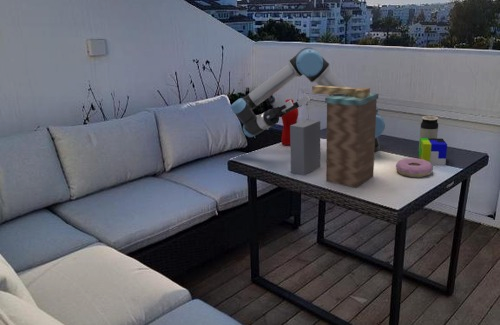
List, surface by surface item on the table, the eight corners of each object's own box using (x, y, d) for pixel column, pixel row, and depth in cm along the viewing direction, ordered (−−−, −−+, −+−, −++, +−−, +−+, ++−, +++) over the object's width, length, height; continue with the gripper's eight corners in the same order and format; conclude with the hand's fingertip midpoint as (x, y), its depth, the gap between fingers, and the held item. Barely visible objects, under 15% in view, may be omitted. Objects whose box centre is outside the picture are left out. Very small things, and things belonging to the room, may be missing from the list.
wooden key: (309, 94, 187) (309, 86, 186) (318, 91, 192) (318, 84, 191) (361, 98, 172) (362, 90, 171) (369, 95, 177) (370, 87, 176)
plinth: (291, 172, 201) (290, 125, 194) (307, 164, 211) (307, 119, 204) (303, 175, 197) (303, 127, 190) (320, 166, 207) (320, 120, 200)
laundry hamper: (324, 181, 188) (325, 95, 177) (343, 170, 201) (345, 88, 189) (356, 188, 179) (359, 98, 167) (374, 176, 191) (378, 91, 180)
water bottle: (299, 141, 250) (299, 97, 242) (297, 146, 240) (296, 101, 232) (283, 140, 252) (282, 97, 244) (280, 146, 242) (279, 101, 234)
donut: (400, 165, 204) (400, 155, 202) (435, 169, 196) (436, 158, 195) (391, 176, 191) (392, 165, 189) (429, 181, 184) (430, 169, 182)
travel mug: (427, 156, 213) (430, 120, 207) (415, 152, 220) (417, 117, 214) (439, 153, 216) (442, 118, 210) (427, 149, 223) (430, 115, 217)
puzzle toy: (445, 165, 200) (447, 144, 197) (422, 165, 202) (423, 144, 199) (440, 158, 209) (442, 138, 206) (418, 158, 211) (420, 138, 208)
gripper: (286, 120, 219) (318, 102, 204) (255, 132, 201) (287, 113, 186) (280, 107, 219) (311, 88, 204) (248, 117, 201) (280, 97, 186)
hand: (300, 100), depth 195 cm, fingers open, 13 cm apart
